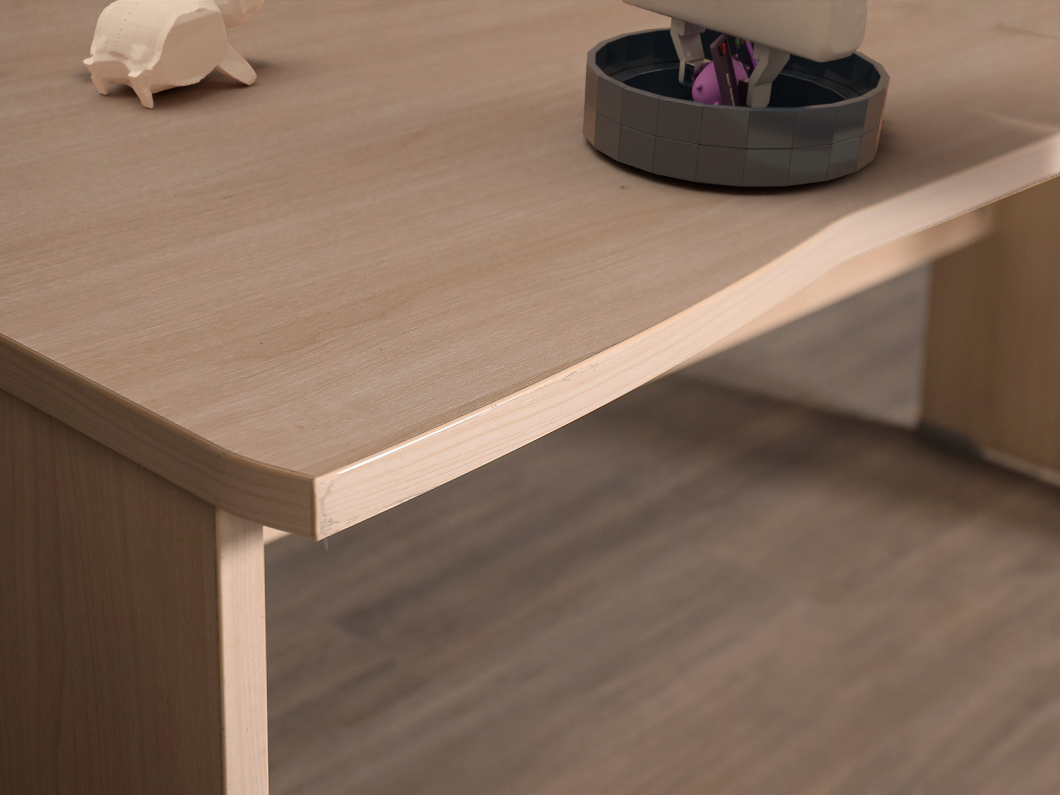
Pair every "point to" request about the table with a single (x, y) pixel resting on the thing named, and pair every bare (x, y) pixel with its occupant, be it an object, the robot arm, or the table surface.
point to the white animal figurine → (167, 44)
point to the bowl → (731, 116)
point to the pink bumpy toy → (723, 73)
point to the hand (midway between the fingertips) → (722, 95)
